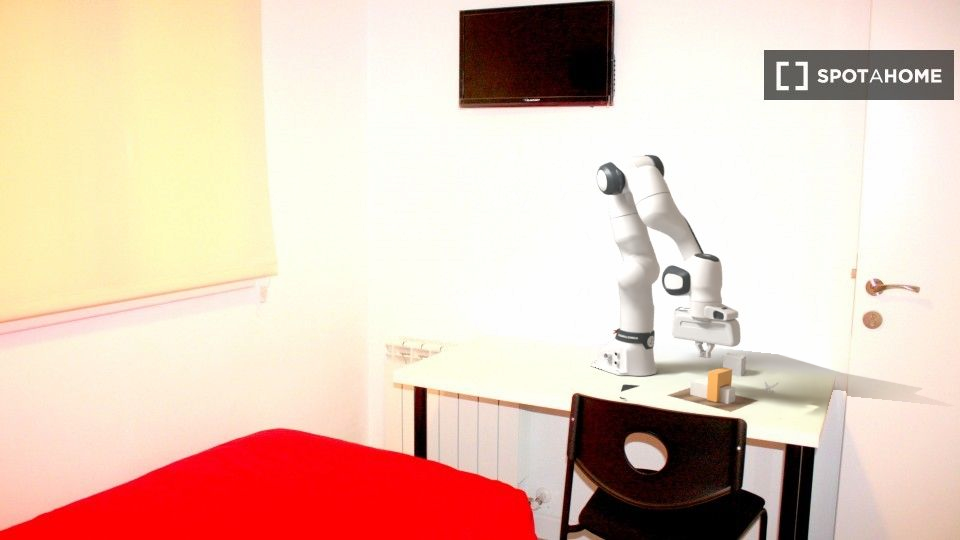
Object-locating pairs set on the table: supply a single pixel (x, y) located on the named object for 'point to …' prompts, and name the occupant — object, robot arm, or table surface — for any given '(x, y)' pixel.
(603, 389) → the table surface
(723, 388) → the long white block
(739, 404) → the board
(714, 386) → the upright orange block
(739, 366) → the grey block
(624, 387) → the phone
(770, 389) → the scissors
